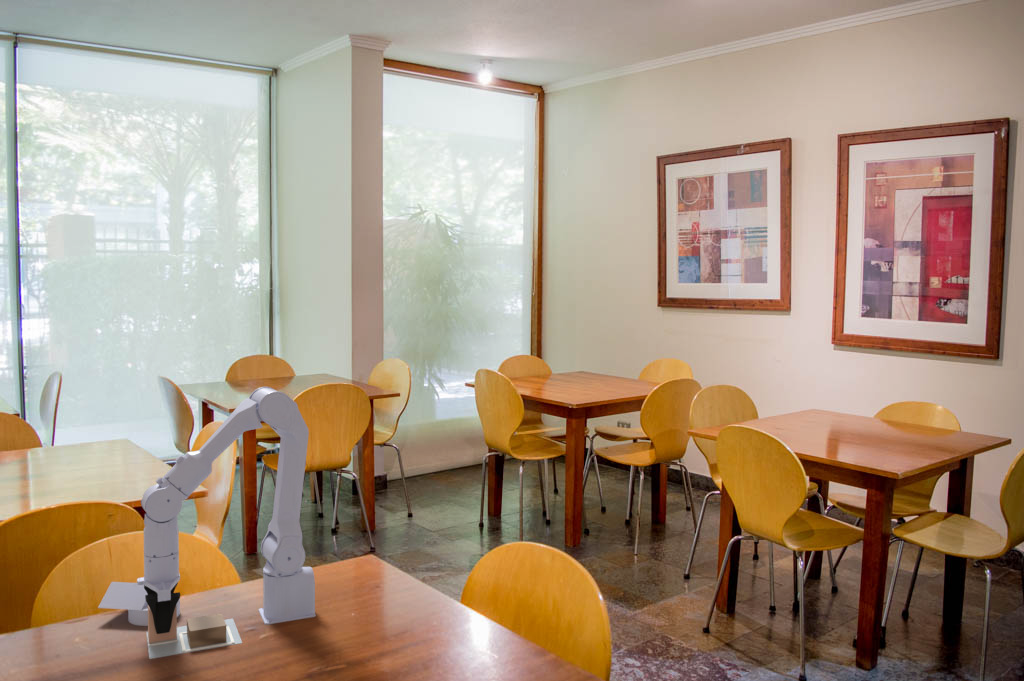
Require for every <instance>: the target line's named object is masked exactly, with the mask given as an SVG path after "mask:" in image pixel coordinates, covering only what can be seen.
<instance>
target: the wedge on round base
mask: <svg viewBox="0 0 1024 681" xmlns="http://www.w3.org/2000/svg"><path fill="white" fill-rule="evenodd" d="M145 595H148V594H147V592H146V590H145V589H144V585H137V582H125V581H124V582H123V581H111V582H110V584H109V586H108V588H107V590H106V592H105V594H104V595H103V598H102V599H101V601H100V603H99V605H98V607H97V608H98V609H112V610H113V609H114V610H127V611H128V616H127V617H128V619H127V621H128V622H129V623H130V624H132V625H134V626H141V627H143V626H144V627H148V604H147V602H146V599H145ZM180 614H181V598H180V599H179V601H178V602H177V618H178V617H179V616H180Z"/></svg>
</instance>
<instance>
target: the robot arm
mask: <svg viewBox="0 0 1024 681" xmlns="http://www.w3.org/2000/svg"><path fill="white" fill-rule="evenodd" d="M261 422H264V423H265V424H267V425H269V427H270V428H271V429H272V430H273V431H274V432H275V433H276V434H277V435H278V436H279V437H280V443H279V451H278V459H277V460H278V461H277V472H276V479H275V490H274V498H273V505H272V506H273V507H272V517H271V520H270V521H269V523H268V525H267V532H266V534H265V536H264V538H263V539H262V541H261V544H260V551H261V552H260V553H261V555H262V557H263V558H264V559H266V562H265V565H264V566H263V568H262V569H263V570H262V571H263V572H262V573H263V576H262V577H263V579H262V580H263V584H262V586H263V588H262V590H263V591H262V592H263V594H262V595H263V598H262V600H263V604H262V605H263V607H260V608H258V613H259V615H260V617H261V619H262V621H263V623H264V625H267V626H268V625H273V624H274V625H275V624H280V623H286V622H291V621H297V620H302V619H303V620H304V619H310V618H315V617H316V616H317V615H316V596H315V595H316V582H315V580H316V579H315V574H314V569H313V568H312V566H303V565H304V563H305V562H306V561H305V559H306V551H305V548H304V546H303V532H302V527H301V523H300V520H301V519H300V518H301V511H302V510H301V507H302V502H303V501H302V500H303V490H304V489H303V488H304V481H305V470H306V463H307V462H306V461H307V455H308V446H309V444H308V443H309V436H310V435H309V434H310V433H309V427H308V426H307V424H306V421H305V419H304V418H303V415H302V414H301V411H300V410H299V407H298V403H297V402H296V401H295V400H293V398H291V397H290V396H289V395H288V394H286V393H284V392H281V391H278V390H276V389H274V388H273V387H270V386H261V387H258V388H256V389H254V390H253V391H252V392H251V394H250V395H249V397H246V398H245V399H243V400H242V401H241V402H240V403H239V404H238V405H237V407H236V408H235V409H234V410H233V411H232V413H230V415H229V416H228V417H227V418H226V419H225V420H224V421H223V423H221V424H220V426H219V427H218V428H217V429H216V430H215V432H213V433H212V435H210V437H209V438H208V439H207V440H206V441H205V443H203V445H202V446H201V447H200V448H199V450H194V451H186V453H185V454H184V455H182V454H179V455H178V456H177V457H176V458H175V462H176V463H175V464H174V465H173V466H172V467H171V468H170V469H169V470H168V471H167V472H166V473H165V474H164V475H163V476H162V477H161V476H159V477H158V478H157V479H156V480H155V482H156V484H155V485H154V484H153V485H151V486H150V487H148V488H147V489H146V490H145V491H144V493H143V495H142V498H141V500H140V504H141V507H142V509H143V510H144V511H145V513H144V518H143V519H144V520H143V524H144V528H143V577H142V576H141V577H138V578H137V579H136V583H137V585H144V589H145V590H146V592H147V594H148V595H145V599H146V602H147V604H148V606H149V607H150V609H151V612H152V615H153V619H154V625H155V630H156V633H157V634H161V633H168V632H170V628H171V624H172V618H173V613H174V610H175V607H176V605H177V602H178V601H179V599H180V600H181V592H180V591H179V592H178V591H177V592H175V590H176V589H177V586H178V584H179V582H180V580H181V574H180V561H179V560H180V553H179V552H180V550H179V549H180V548H179V546H180V545H179V543H180V542H179V541H180V540H179V525H178V515H179V514H180V513H181V510H182V505H183V501H185V500H187V499H189V497H190V496H191V495H192V494H193V493H194V492H195V491H196V490H197V489H198V488H199V486H200V485H201V484H203V482H204V481H206V479H207V478H208V477H209V476H210V475H211V474H212V472H213V469H212V467H213V466H212V465H213V463H214V461H215V460H217V459H218V458H219V456H221V455H222V454H223V453H224V452H225V451H226V450H227V449H228V448H229V447H230V446H231V445H232V444H233V443H234V442H235V441H236V440H238V438H239V437H240V436H241V435H243V434H244V432H247V431H251V430H252V431H253V430H258V429H262V428H264V426H263V425H262V423H261Z"/></svg>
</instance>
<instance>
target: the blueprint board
mask: <svg viewBox="0 0 1024 681" xmlns="http://www.w3.org/2000/svg"><path fill="white" fill-rule="evenodd" d="M224 621H225V623H226V642H224V643H218V644H212V645H206V646H201V647H195V648H190V646H189V642H188V637H187V625H184V626H183V625H182V626H177V639H171V640H165V641H158V642H152V643H149V637H148V631H146V632H145V633H146V640H147V648H148V649H147V651H148V658H149V660H152V659H158V658H163V657H170V656H174V655H175V656H176V655H181V654H187V653H193V652H199V651H203V650H204V651H206V650H209V649H217V648H223V647H229V646H233V645H240V644H243V640H242V639H241V635H240V633H239V630H238V628H237V626H236V623H235V620H234V618H227V619H224Z"/></svg>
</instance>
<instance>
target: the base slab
mask: <svg viewBox="0 0 1024 681" xmlns="http://www.w3.org/2000/svg"><path fill="white" fill-rule="evenodd" d="M224 620H225V618H224V616H223V613H217V614H216V613H215V614H209V615H204V616H203V615H202V616H197V617H190V618H186V626H187V637H188V642H189V646H190V648H195V647H201V646H206V645H212V644H218V643H224V642H226V623H225V621H224Z"/></svg>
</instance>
